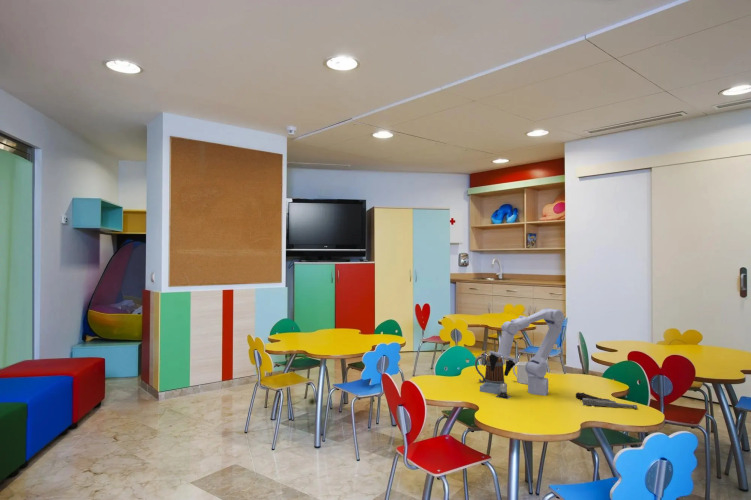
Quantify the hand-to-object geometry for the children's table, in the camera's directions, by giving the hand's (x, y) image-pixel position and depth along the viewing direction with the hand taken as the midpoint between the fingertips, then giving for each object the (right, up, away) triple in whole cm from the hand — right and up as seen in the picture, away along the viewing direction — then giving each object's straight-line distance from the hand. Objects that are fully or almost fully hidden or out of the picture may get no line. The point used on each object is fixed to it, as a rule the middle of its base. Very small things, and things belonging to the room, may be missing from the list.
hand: (498, 373), depth 222 cm
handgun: (+48, -13, -7) cm, 50 cm away
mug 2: (+22, -13, +30) cm, 39 cm away
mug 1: (+1, -12, +23) cm, 26 cm away
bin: (-2, -12, +7) cm, 14 cm away
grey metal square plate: (+1, -11, -3) cm, 12 cm away
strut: (+1, -10, -3) cm, 11 cm away
